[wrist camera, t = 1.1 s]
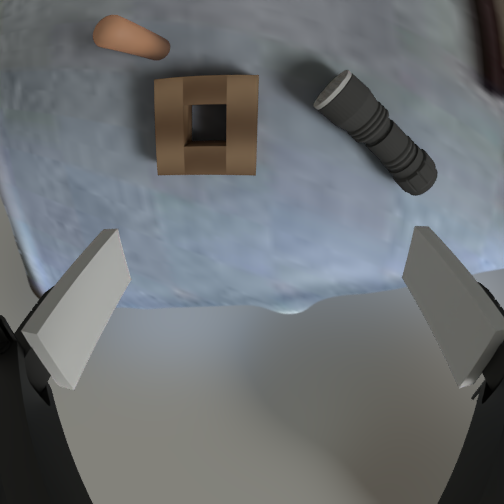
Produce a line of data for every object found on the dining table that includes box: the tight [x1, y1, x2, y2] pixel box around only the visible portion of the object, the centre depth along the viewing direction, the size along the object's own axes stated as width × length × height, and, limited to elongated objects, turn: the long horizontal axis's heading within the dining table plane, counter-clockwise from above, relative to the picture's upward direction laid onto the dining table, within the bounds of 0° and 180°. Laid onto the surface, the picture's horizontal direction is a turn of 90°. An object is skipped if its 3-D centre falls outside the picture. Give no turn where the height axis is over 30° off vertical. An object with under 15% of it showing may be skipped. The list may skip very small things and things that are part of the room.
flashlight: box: [314, 70, 437, 196], centre depth 28 cm, size 15×5×5 cm, turn 53°
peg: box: [93, 15, 170, 60], centre depth 21 cm, size 3×3×12 cm
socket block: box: [154, 75, 259, 175], centre depth 28 cm, size 10×10×4 cm
